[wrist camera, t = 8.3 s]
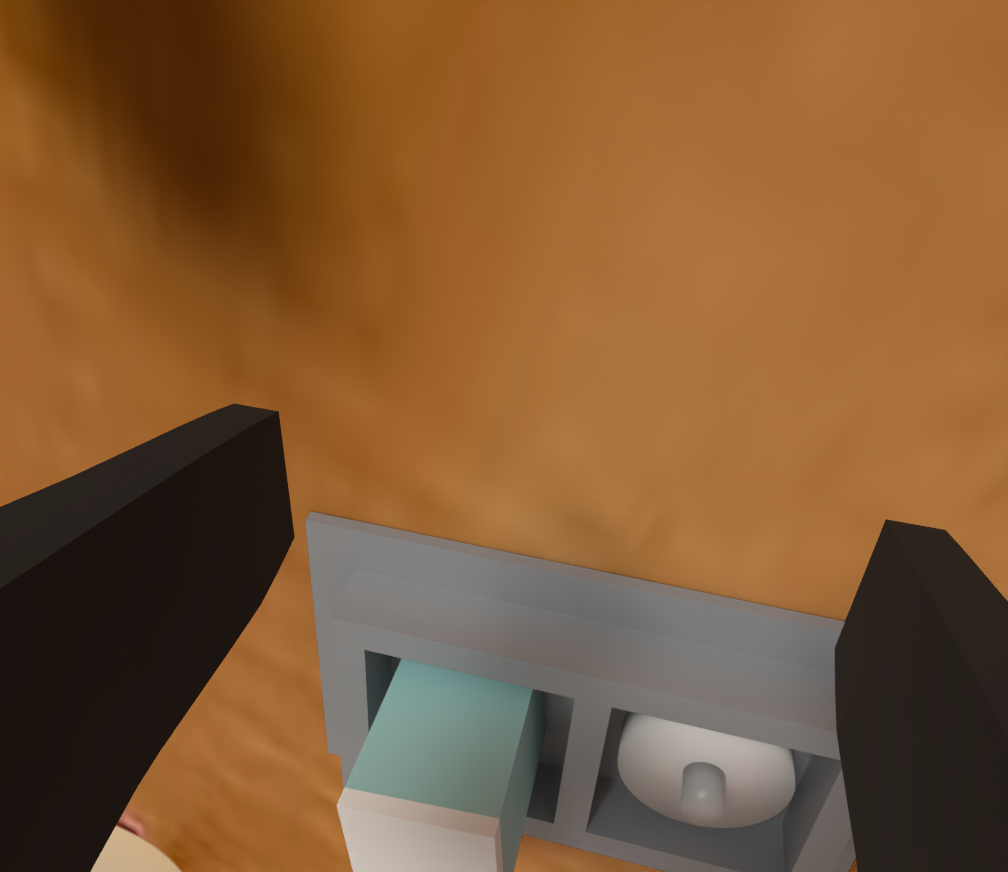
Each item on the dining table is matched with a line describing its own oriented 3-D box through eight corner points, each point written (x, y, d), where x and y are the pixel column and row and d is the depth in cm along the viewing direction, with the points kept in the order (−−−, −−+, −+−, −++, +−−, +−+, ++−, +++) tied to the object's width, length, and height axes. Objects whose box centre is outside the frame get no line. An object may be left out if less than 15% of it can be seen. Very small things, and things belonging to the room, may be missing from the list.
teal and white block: (543, 647, 24) (494, 838, 19) (544, 735, 26) (500, 925, 21) (414, 628, 25) (336, 805, 20) (426, 714, 27) (358, 893, 22)
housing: (963, 646, 21) (992, 736, 19) (839, 871, 27) (849, 961, 25) (311, 511, 24) (266, 575, 21) (332, 743, 30) (299, 812, 28)
